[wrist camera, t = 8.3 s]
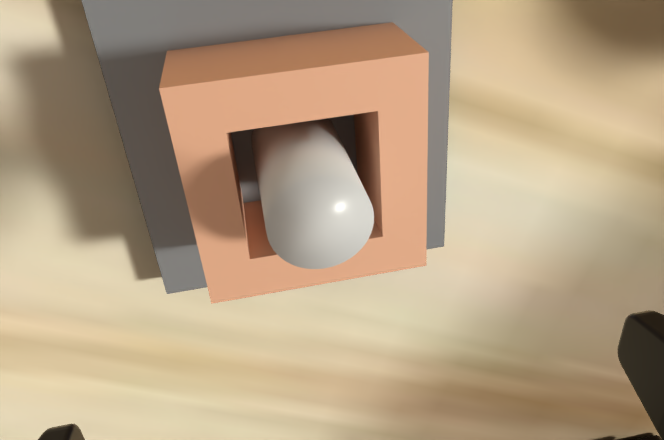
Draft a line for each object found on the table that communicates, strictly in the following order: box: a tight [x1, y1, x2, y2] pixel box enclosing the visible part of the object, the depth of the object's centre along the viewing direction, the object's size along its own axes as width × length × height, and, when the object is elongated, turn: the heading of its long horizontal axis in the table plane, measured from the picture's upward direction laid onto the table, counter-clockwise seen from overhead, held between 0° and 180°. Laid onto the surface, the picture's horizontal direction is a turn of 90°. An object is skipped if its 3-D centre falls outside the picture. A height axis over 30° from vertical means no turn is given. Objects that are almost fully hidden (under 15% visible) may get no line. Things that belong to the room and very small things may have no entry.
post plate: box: [82, 0, 453, 294], centre depth 16 cm, size 10×10×6 cm
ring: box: [159, 22, 429, 303], centre depth 17 cm, size 6×6×3 cm
